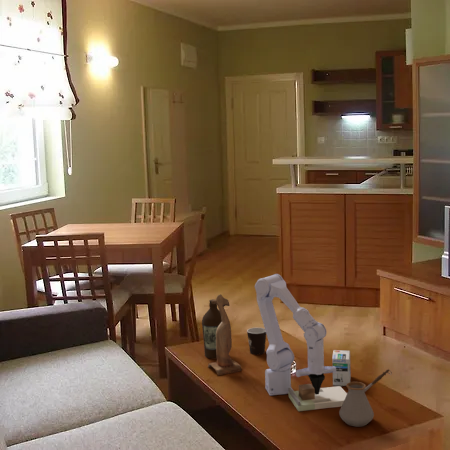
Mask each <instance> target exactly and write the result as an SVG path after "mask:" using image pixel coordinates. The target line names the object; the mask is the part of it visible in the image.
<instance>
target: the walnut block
mask: <svg viewBox="0 0 450 450" xmlns="http://www.w3.org/2000/svg"><path fill="white" fill-rule="evenodd" d="M298 391H299V396H300V398H301V399H302V400H311V399H315V388H314V387H313V386H312V383H307V384H306V383H305V384H304V383H303V384H298Z"/></svg>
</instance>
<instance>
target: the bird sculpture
mask: <svg viewBox="0 0 450 450" xmlns="http://www.w3.org/2000/svg"><path fill="white" fill-rule="evenodd" d="M215 300H216V303H217V309H218V310H219V311H220V314H221V318H222V322H221V323H220V325H219V326H218V328H217V331H216V353H217V354H216V355H217V359H216V361H215V362H209V363H208V364H207V368H213V369H214V370H215V372H216V374H217V376H221V375H222V376H223V375H225V374H226V375H228V374H232V373H233V374H234V373H238V372H241V371H242V365H241V364H239V363H238V362H237V361H235V360H234V359H233V358H231V356H230V354H229V353H230V352H231V350H232V348H233V347H232V345H233V343H232V342H233V341H232V339H233V338H232V326H231V322H230V319H229V317H228V314H227V312H226V309H225V307H230V301H229V300H228V299H227V298H225V297H224V296H223V295H222V294H218V295H217V296H216V298H215Z"/></svg>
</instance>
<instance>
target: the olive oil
mask: <svg viewBox="0 0 450 450" xmlns="http://www.w3.org/2000/svg"><path fill="white" fill-rule="evenodd" d="M208 305H209V308H208V310H207V311H206V312H205V314H203V316H202V319H201V325H202V326H201V327H202V329H201V330H202V335H203V337H202V338H203V348H204V351H203V352H204V356H205V358H208V359H210V360H211V359H212V360H215V359H216V360H217V355H216V354H217V353H216V331H217V328H218V326H219V325H220V323H221V322H222V318H221V314H220V311H219V308H218V306H217V303H216V298H215V299H209V303H208Z"/></svg>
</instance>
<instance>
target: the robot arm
mask: <svg viewBox="0 0 450 450" xmlns="http://www.w3.org/2000/svg"><path fill="white" fill-rule="evenodd" d="M254 289H255V290H254V291H255V293H256V302H257V307H258V310H259V312H260V313H259V314H260V316H261V320H262V324H263V328H264V329H265V331H266V338H267V340H268V347H267V349H266V350H265V353H266V363H267V366H268V367H269V368H267V369H265V371H264V376H265V377H264V381H265V383H264V384H265V387H264V389H265V390H266V391H267V393H268V395H269V396H277V395H287V394H288V395H289V393H288V388H291V389H292V391H294V389H293V388H292V383H291V377H292V375H291V373H292V372H291V367H292V363H294V361H295V354H294V352H293V350H292V348H291V347H290V344H289V343H287V342H285V340H284V338H283V335H282V334H283V333H282V332H281V328H280V324H279V321H278V318H277V313H276V310H275V306H274V303H273V300H274V298H279V300H281V302H282V303H283V304H284V305H285V306H286V307H287V308H288V309H289V310H290V311H291V312H292V319H293V320H294V321H295V322H296V324H297V325H298V326H299V327H300V329H301V330H302V331H303V337H304V340H305V341H306V346H307V367H304V368H301V369H296V370H295V376H296V377H297V378H300V377H303V376H304V377H305V376H308V378H309V381H310V384H311V385H312V386H313V387H314V388H315V394H319V391H320V388H322V384H323V382H324V380H325V377H326V376H325V375H324V374H333V373H336V367H335V366H333V365H332V366H330V365H329V366H328V365H327V366H326V365H325V356H324V354H325V351H324V347H325V346H324V338H325V337H326V336H327V328H326V327H325V324H324V323H322V322H319V321H317V320H316V319H315V318H314V316H312V314H310V311H309V310H308V309H307V308H305V307H302V306H300V304H299V303H298V302H297V300H296V298H295V297H294V296H293V294H292V293H291V291H290V290H289V289H288V287H287V282H286V281H285V280H284V278H283V276H282V275H280V274H279V273H274V274H272V275H269V276H266V277H262V278H261V277H260V278H258V279H257V281H256V282H255V284H254Z"/></svg>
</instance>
